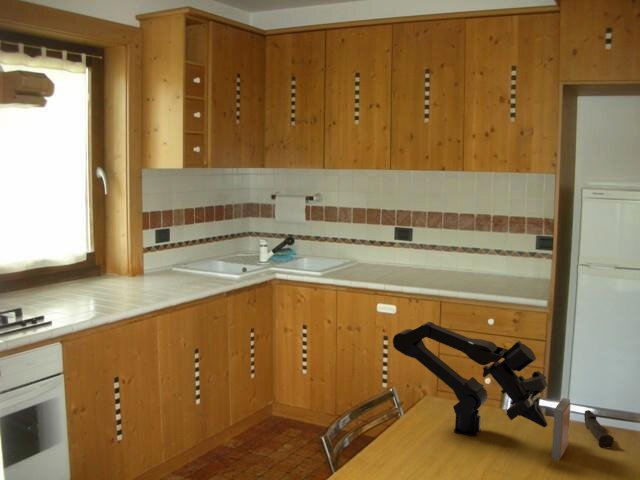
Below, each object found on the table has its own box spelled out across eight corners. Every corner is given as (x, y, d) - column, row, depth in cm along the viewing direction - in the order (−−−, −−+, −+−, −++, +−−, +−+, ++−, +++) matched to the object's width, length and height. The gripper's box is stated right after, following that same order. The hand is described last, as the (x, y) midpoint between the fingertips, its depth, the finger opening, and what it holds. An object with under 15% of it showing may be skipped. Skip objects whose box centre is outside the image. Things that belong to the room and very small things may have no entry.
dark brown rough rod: (613, 449, 188) (614, 433, 187) (598, 448, 188) (599, 432, 188) (594, 423, 206) (595, 408, 206) (581, 422, 207) (582, 407, 206)
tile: (551, 458, 181) (554, 408, 179) (559, 445, 189) (562, 397, 187) (560, 460, 179) (563, 410, 178) (568, 447, 188) (571, 399, 186)
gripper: (520, 373, 178) (561, 422, 174) (538, 356, 194) (575, 400, 190) (490, 396, 183) (529, 443, 179) (509, 377, 199) (545, 421, 195)
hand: (546, 426), depth 185 cm, fingers closed
